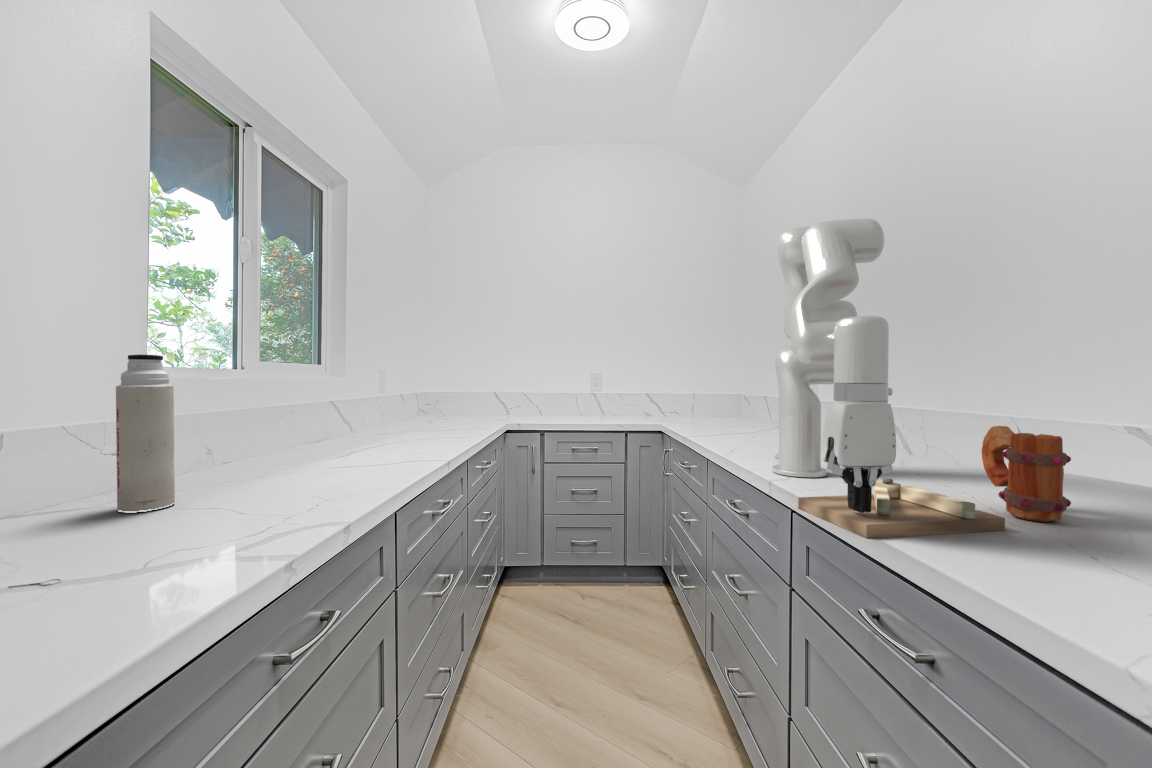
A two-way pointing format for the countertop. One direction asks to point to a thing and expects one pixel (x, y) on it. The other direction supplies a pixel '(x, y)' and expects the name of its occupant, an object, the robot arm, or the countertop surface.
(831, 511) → the board
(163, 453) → the thermos bottle
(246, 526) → the countertop surface
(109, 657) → the countertop surface
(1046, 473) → the mug
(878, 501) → the tong arm
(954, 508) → the tongs fixed
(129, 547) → the countertop surface
